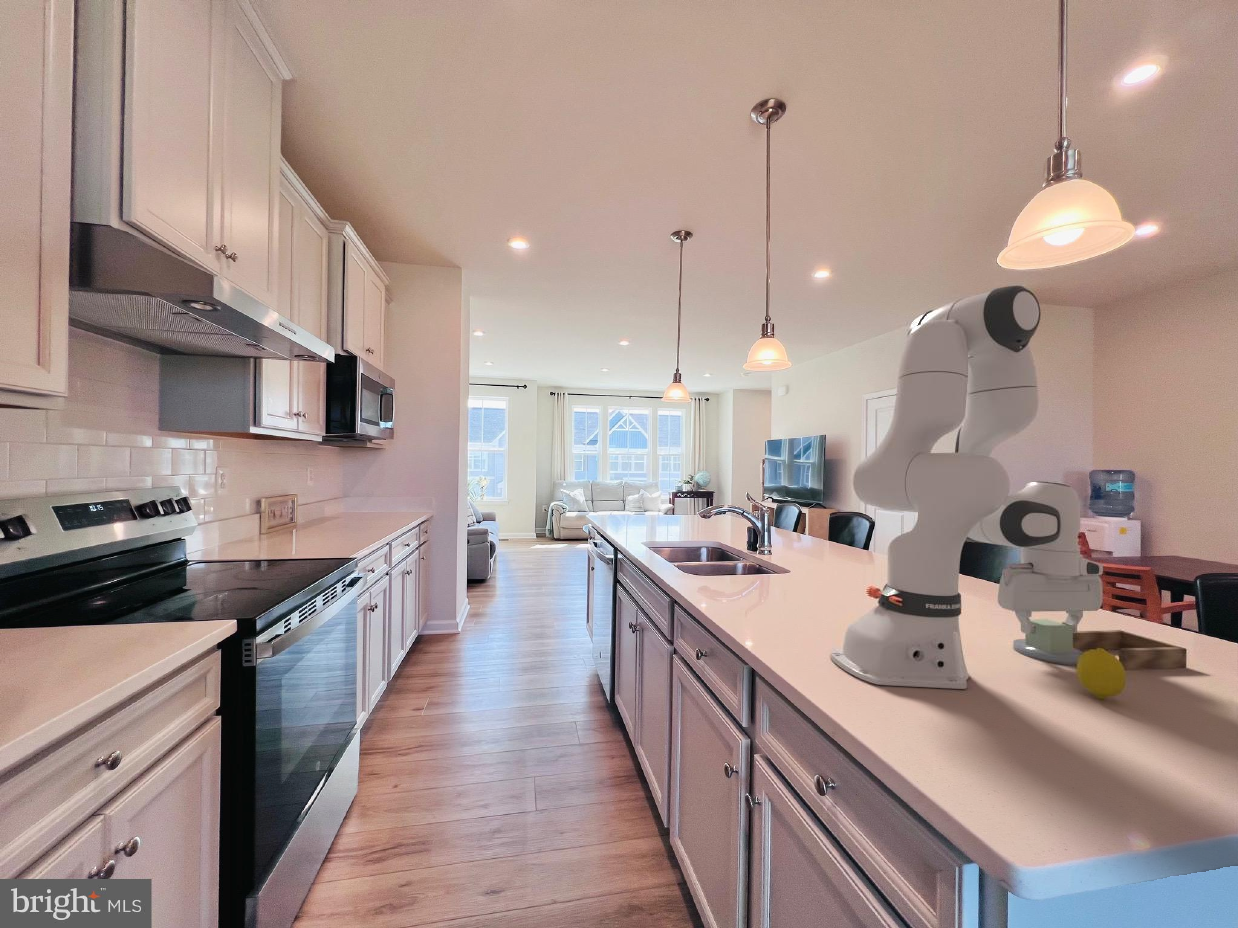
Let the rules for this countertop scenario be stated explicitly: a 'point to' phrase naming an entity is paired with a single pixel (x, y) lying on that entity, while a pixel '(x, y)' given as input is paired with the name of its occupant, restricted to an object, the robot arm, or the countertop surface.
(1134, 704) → the countertop surface
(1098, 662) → the lemon
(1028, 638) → the cube
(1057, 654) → the grey round glossy part
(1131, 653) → the cubby
